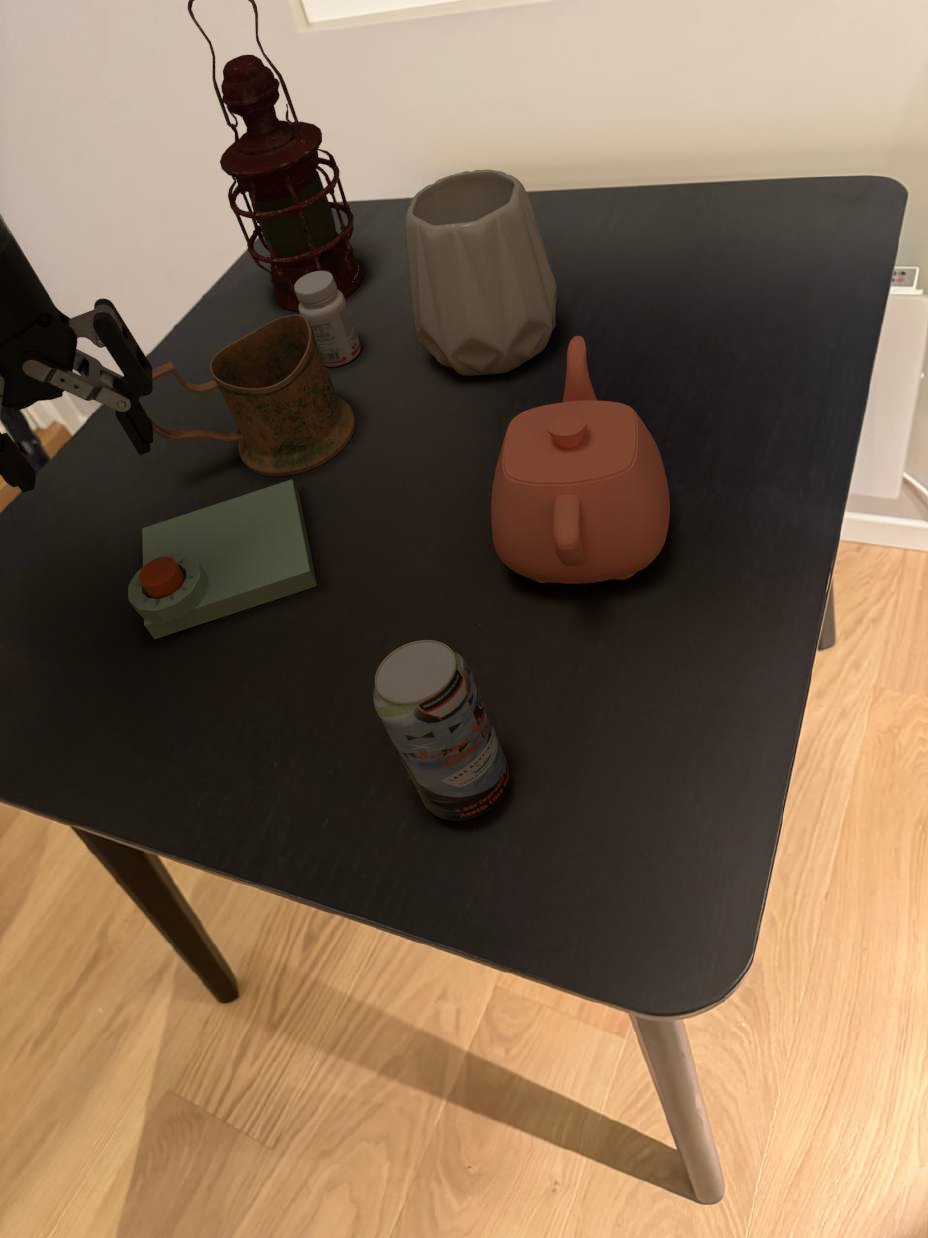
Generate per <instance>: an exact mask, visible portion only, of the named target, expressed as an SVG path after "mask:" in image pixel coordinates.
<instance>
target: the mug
mask: <svg viewBox="0 0 928 1238" xmlns="http://www.w3.org/2000/svg"><path fill="white" fill-rule="evenodd" d="M209 371H210V374H211V376H212V378H213V379H212V380H210V381H207V382H204V383H199V384H197V383H192V382H191V383H190V382H189V381H187V380H185V379H184V378H183V376H181V375H180V373H179V372H178V371H177V368H176V366H175V365H174V363H173V362H172V361H169V362H167V363H164V364H162V365H160V366H158V367H156V368H154V369H152V381H153V382H154V381H156V380H158V379H159V378H162V377H164V376H166V375H168V374H173V375H174V377H175V379H177V381H178V383H179V384H180V385H181V386H182V387H183V388H184V389H186V390H188V391H189V392H191V393H195V394H205V393H209V392H212V391H214V390H216V389H218V390H219V391H220V393H221V395H222V397H223V399H224V401H225V403H226V405H227V407H228V409H229V411H230V413H231V416H232V417H233V420H234V422H235V424H236V426H237V428H238V430H235V431H231V432H219V431H213V430H210V429H209V430H208V429H203V428H202V429H198V428H197V429H196V428H195V429H184V430H175V431H174V430H168V429H166V428H162V427H161V426H159V425H158V424H156V422H155V421H153V420H152V419H151V418H150V417H149V419H150V421H151V422H152V424H153V432H154V433H156V434H157V435H159V436H161V437H163V438H164V439H168V440H171V441H183V440H191V439H192V440H193V439H207V440H214V441H219V442H226V443H227V442H228V443H232V442H236V441H238V453H239V456H240V458H241V460H242V463H244V465H245V466H246V467H247V468H248V469H249V470H251V471H253V472H255V473H256V474H259V475H263V476H267V477H287V476H293V475H297V474H303V473H305V472H308V471H310V470H311V471H312V470H314V469H316V468H318V467H320V466H322V465H323V464H325V463H327V462H329V461H330V460H332V459H333V458H334V457H335V456H337V455H338V454H339V453H340V452H341V451H342V450H343V449H344V448H345V447H346V446H347V445H348V443H349V442H350V440H351V438H352V436H353V435H354V432H355V428H356V416H355V414H354V411H353V409H352V406H350V404H349V403H348V402H347V401H345V400H344V399H342V398H341V397H338V396H337V391H336V390H335V386H334V384H333V382H332V380H331V376H330V374H329V371H328V367H327V366H326V365H325V363H324V361H323V358H322V356H321V353H320V351H319V348H318V345H317V342H316V340H315V338H314V332H313V330H312V327H311V326H310V324H309V322H308V320H307V319H306V318H305V317H304V316H303V315H300V313H299V314H297V313H295V314H289V315H285V316H281V317H277V318H276V319H272V320H271V321H269V322H268V323H265V324H263V325H262V326H259V327H258V328H257V329H255V330H252V331H251V332H249V333H248V334H246V335H244V336H243V337H240V338H239V339H237V340H235V341H234V342H231V343H229V344H228V345H227V346H224V347H223V348H222V349H220V350H219V351H217V353H215V354H214V356H213V357H212V359H211V361H210V363H209ZM138 400H139V401H140V398H139V399H138Z"/></svg>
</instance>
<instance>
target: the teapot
mask: <svg viewBox="0 0 928 1238" xmlns="http://www.w3.org/2000/svg"><path fill="white" fill-rule="evenodd" d="M594 390H595V389H594V388H593V385H592V381H591V378H590V373H589V368H588V363H587V345H586V342H585V339H584V337H582V336H581V335H575V336H573V337H572V339H570V342H569V344H568V346H567V351H566V370H565V384H564V390H563V396H562V402H557V403H556V402H555V403H551V404H545V405H540V406H537V407H533V408H530V409H528V410H525V411H523V412H520V413H519V414H517V415H516V416H515V417H513V418H512V419H511V421H510V422H509V425H508V427H507V429H506V433H505V435H504V438H503V442H502V445H501V448H500V452H499V455H498V459H497V461H496V466H495V471H494V476H493V481H492V490H491V499H490V516H491V519H490V520H491V532H492V533H491V534H492V543H493V547H494V550H495V553H496V555H497V557H498V559H499V560H500V562H501V563H502V564H503V565H504V566H506V567H507V568H509V569H510V570H512V572H515V573H516V574H518V575H520V576H523V577H524V578H527V579H531V580H533V581H535V582H537V583H541V584H547V583H555V584H565V585H566V584H567V585H571V584H572V585H573V584H574V585H575V584H576V585H577V584H578V585H581V584H592V583H598V582H599V583H600V582H605V581H610V580H621V581H622V580H628V579H629V578H632V577H633V576H635V574H636V573H638V572H640V571H643V570H644V569H646V568H647V567H648V566H649V565H650V564H652V563H653V561H654V560H655V559H656V558H657V557H658V556H659V555H660V553H661V552H662V549H663V547H664V546H665V543H666V539H667V535H668V531H669V525H670V517H671V501H670V489H669V484H668V480H667V475H666V471H665V467H664V462H663V459H662V455H661V452H660V449H659V448H658V445H657V443H656V441H655V439H654V437H653V435H652V434H651V432H650V430H648V427H647V426H646V424H645V423H644V421H643V420H642V418H641V417H640V416H639V414H638V413H637V412H636V410H635V409H634V408H633V407H631V406H630V405H627V404H624V403H622V402H616V401H610V400H598V399H597V396H596V393H595V391H594Z"/></svg>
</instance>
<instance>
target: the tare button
mask: <svg viewBox="0 0 928 1238" xmlns="http://www.w3.org/2000/svg"><path fill="white" fill-rule="evenodd" d="M142 567H143V566H142ZM142 567H141V568H142ZM141 568H140V569H141ZM139 582H140V583H141V585H142V586H143V588H144V589H145V590H146V592H147V593H148V595H149V596H151V597H152V598H156V599H161V598H164V597H167V596H170V595H172V594H173V593H174V592H176V591H177V590H178V589H180V588H181V587H182V585H183V583H184V574H183V572H182V571H181V569H180V568H179V566H178V565H177V563H176V561H175V560H174V559H172V558H170V557H159V558H156V559H154V560H152V561H150V562H149V563H147V564H146V565H145V566H144V567H143V568H142V569H141V571H140V573H139Z"/></svg>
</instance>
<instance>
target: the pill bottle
mask: <svg viewBox="0 0 928 1238" xmlns="http://www.w3.org/2000/svg"><path fill="white" fill-rule="evenodd" d="M294 290H295V293H296V296H297V298H298V300H299V302H300V303H299V311H298V312H299V315H303V316H304V317H305V318H306V319H307V320H308V322H309V324H310V326H311V327H312V330H313V332H314V338H315V340H316V342H317V345H318V348H319V351H320V353H321V356H322V358H323V361H324V363H325V365H326V367H327V368H328V367H329V368H334V367H335V368H336V367H340V366H343V365H346V364H347V363H350V362H351V361H353V360H354V359H355V358H357V357H358V355H359V354H360V352H361V342H360V339H359V336H358V333H357V330H356V327H355V324H354V321H353V318H352V316H351V313H350V309H349V307H348V303H347V301H346V298H344V296H343V294H342V293H341V292H340V291H339V290H338V289H337V286H336V283H335V281H334V278H333V276H332V274H331V273H329V272H327V271H315V272H311V273H309V274H306V275H304V276H303V277H301V278H300V279H299V280H298V281H297V282H296V283H295V285H294Z"/></svg>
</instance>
